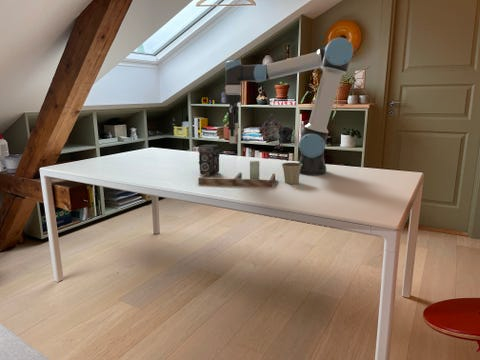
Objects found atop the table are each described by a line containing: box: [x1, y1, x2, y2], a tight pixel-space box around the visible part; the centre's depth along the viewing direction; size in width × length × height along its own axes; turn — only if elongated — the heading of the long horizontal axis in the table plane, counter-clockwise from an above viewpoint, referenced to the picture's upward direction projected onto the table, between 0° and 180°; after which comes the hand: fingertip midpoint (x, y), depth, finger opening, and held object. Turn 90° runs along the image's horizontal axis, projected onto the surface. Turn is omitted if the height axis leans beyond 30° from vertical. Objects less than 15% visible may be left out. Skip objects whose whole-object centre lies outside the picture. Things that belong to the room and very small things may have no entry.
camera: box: [197, 144, 221, 176], centre depth 183 cm, size 10×10×15 cm
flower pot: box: [281, 162, 302, 185], centre depth 165 cm, size 9×9×9 cm
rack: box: [197, 172, 276, 188], centre depth 168 cm, size 34×14×3 cm, turn 79°
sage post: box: [249, 160, 260, 180], centre depth 165 cm, size 4×4×10 cm
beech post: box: [228, 123, 239, 145], centre depth 178 cm, size 4×4×10 cm
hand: (233, 142), depth 179 cm, fingers closed on beech post, 4 cm apart
